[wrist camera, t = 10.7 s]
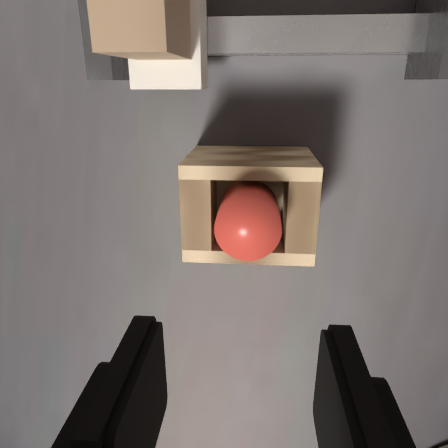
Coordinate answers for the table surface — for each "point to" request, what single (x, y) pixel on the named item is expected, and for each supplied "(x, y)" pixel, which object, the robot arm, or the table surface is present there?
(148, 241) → the table surface
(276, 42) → the rail
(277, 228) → the button
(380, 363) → the table surface
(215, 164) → the wooden box
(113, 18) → the carriage
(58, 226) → the table surface
